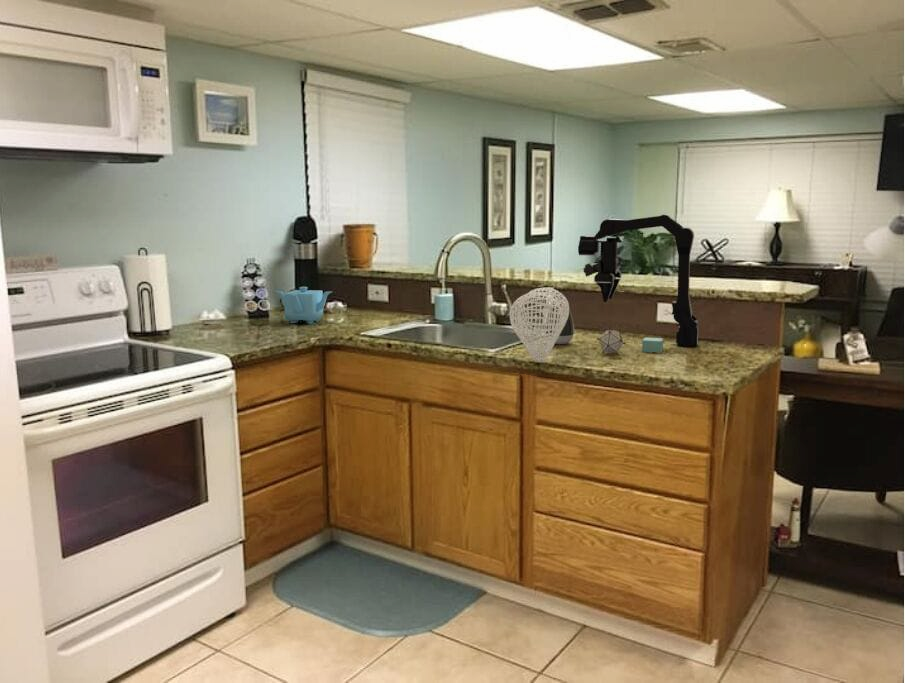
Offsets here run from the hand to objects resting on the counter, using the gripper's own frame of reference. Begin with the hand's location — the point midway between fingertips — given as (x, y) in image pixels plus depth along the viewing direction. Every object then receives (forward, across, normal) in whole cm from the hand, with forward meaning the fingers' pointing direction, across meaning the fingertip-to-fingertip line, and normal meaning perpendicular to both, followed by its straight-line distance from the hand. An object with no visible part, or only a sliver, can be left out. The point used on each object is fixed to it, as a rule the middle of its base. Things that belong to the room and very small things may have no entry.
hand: (607, 300), depth 272 cm
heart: (+14, +44, -12) cm, 48 cm away
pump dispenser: (+14, +10, -15) cm, 23 cm away
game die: (+15, +22, +6) cm, 27 cm away
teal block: (+15, +13, +17) cm, 26 cm away
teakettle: (+14, -2, -126) cm, 126 cm away
